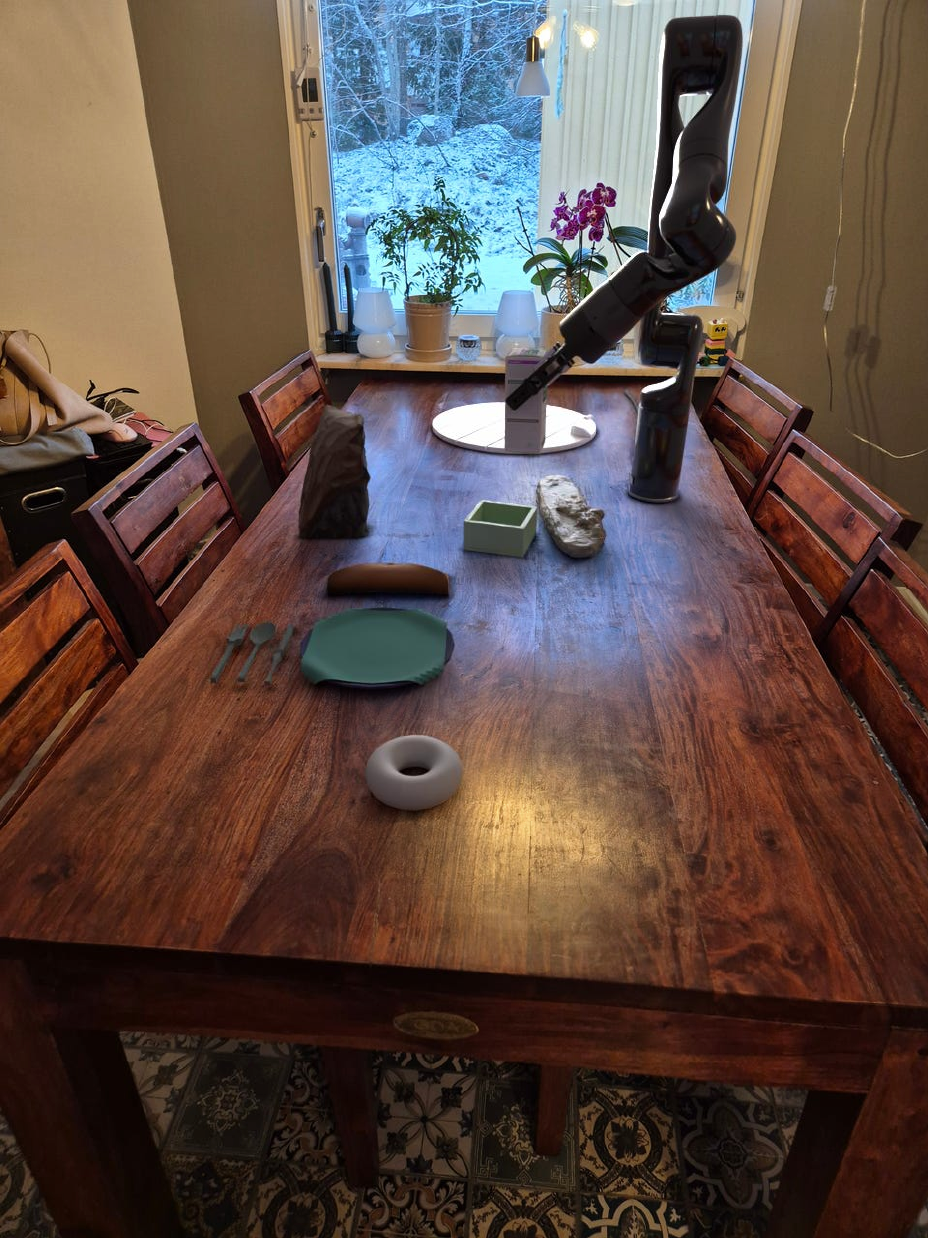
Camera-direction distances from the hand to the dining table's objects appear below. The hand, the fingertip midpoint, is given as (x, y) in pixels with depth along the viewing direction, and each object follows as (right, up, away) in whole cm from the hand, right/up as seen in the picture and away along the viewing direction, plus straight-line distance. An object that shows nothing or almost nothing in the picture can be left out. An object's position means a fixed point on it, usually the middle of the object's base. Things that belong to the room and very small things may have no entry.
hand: (515, 399), depth 123 cm
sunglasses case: (-19, -28, 0) cm, 34 cm away
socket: (-2, -20, +15) cm, 25 cm away
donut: (-13, -50, -38) cm, 65 cm away
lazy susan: (+5, +13, +74) cm, 75 cm away
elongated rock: (+11, -16, +23) cm, 30 cm away
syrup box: (+2, -7, +3) cm, 8 cm away
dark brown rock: (-31, -17, +20) cm, 41 cm away
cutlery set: (-24, -38, -17) cm, 48 cm away
